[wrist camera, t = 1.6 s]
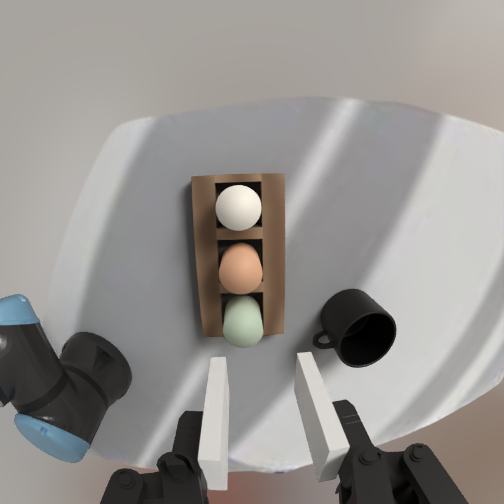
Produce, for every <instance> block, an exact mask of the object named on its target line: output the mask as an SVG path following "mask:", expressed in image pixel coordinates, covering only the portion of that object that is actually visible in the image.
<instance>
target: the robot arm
mask: <svg viewBox="0 0 504 504" xmlns="http://www.w3.org/2000/svg"><path fill="white" fill-rule="evenodd" d="M131 381H132V374H131V370H130V367H129V364H128V362H127V361H126V359H125V357H124V356H123V355H122V354H121V352H120V351H119V350H118V349H117V348H116V347H115V346H114V345H113V344H111V343H110V342H109V341H107V340H106V339H104V338H102V337H100V336H98V335H96V334H93V333H88V332H79V333H76V334H74V335H73V336H71V337H70V338H69V339H68V341H67V342H66V343H65V344H64V346H63V349H62V354H61V356H60V358H59V359H58V357H57V355H56V354H55V352H54V350H53V348H52V346H51V344H50V343H49V341H48V339H47V337H46V335H45V333H44V331H43V328H42V326H41V324H40V320H39V319H38V318H37V316H36V314H35V312H34V310H33V308H32V306H31V304H30V302H29V300H28V299H27V298H26V297H25V296H23V295H21V294H16V295H12V296H8V297H5V298H1V299H0V407H4V406H5V405H6V404H7V403H9V402H11V403H12V404H13V406H14V407H15V409H16V410H17V411H18V414H16V415H15V419H14V422H15V425H16V427H17V428H18V430H19V431H20V432H21V434H22V435H23V436H24V437H25V438H26V439H28V440H29V441H30V442H31V443H32V444H34V445H35V446H36V447H38V448H39V449H40V450H42V451H44V452H45V453H47V454H49V455H51V456H53V457H55V458H57V459H59V460H62V461H65V462H70V463H76V462H79V461H81V460H82V459H83V457H84V455H85V453H86V452H87V450H88V449H89V448H90V445H91V443H92V441H93V439H94V436H95V434H96V432H97V430H98V428H99V426H100V423H101V421H102V419H103V417H104V415H105V413H106V411H107V409H108V407H109V406H111V405H112V404H113V403H114V402H115V401H116V400H117V399H119V398H121V397H122V396H124V395H125V393H126V392H127V390H128V388H129V386H130V384H131ZM294 392H295V395H296V399H297V403H298V407H299V410H300V414H301V418H302V422H303V426H304V429H305V433H306V437H307V441H308V445H309V449H310V452H311V456H312V460H313V464H314V467H315V472H316V475H317V479H318V482H323V481H328V480H333V479H336V477H337V475H338V474H339V478H340V483H339V485H338V487H337V489H336V492H335V494H337V493H338V492H339V503H340V504H468V502H467V501H466V499H465V498H464V496H463V495H462V494H461V492H460V490H459V489H458V487H457V486H456V484H455V483H454V482H453V480H452V479H451V477H450V476H449V475H448V473H447V472H446V470H445V469H444V467H443V466H442V465H441V463H440V462H439V460H438V459H437V457H436V456H435V455H434V453H433V452H432V450H431V449H430V448H429V447H428V446H427V445H424V444H419V443H416V444H412V445H410V446H409V447H407V448H406V450H405V451H402V452H384V451H381V450H380V449H379V448H377V447H375V446H374V445H373V444H372V442H371V440H370V438H369V436H368V434H367V432H366V430H365V428H364V426H363V424H362V421H361V419H360V417H359V415H358V413H357V411H356V409H355V407H354V405H352V404H351V403H350V402H349V401H348V400H341V401H335V402H332V401H331V399H330V396H329V394H328V392H327V389H326V387H325V384H324V382H323V380H322V377H321V375H320V372H319V370H318V368H317V365H316V363H315V360H314V358H313V356H312V353H311V352H304V353H297V360H296V373H295V385H294ZM228 421H229V386H228V376H227V366H226V357H211V362H210V369H209V376H208V383H207V390H206V398H205V405H204V412H202V411H185V412H184V413H183V414H182V415H181V417H180V418H179V421H178V426H177V430H176V436H175V440H174V444H173V449H172V452H167V453H166V454H164V455H162V456H161V457H160V458H159V459H158V461H157V467H158V469H159V472H154V473H145V474H139V473H138V472H137V471H134V470H132V469H126V468H124V469H119V470H117V471H116V472H114V473H113V475H112V476H111V478H110V480H109V483H108V485H107V487H106V490H105V492H104V495H103V497H102V500H101V502H100V504H209V500H208V497H207V487H208V489H210V490H227V467H228Z"/></svg>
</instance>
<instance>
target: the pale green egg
mask: <svg viewBox="0 0 504 504" xmlns="http://www.w3.org/2000/svg"><path fill="white" fill-rule="evenodd" d="M223 334H224V337H225V339H226V340H227V341H228V342H229V343H230V344H231V345H233V346H236V347H241V348H245V347H250V346H253V345H255V344H256V343H257V342H258V341H259V340H260V339H261V337H262V335H263V325H262V319H261V313H260V307H259V304H258V303H257V301H256V300H255V299H254V298H252V297H250V296H248V295H237V296H235V297H233V298H231V299H230V300H229V301H228V302H227V304H226V307H225V315H224V325H223Z"/></svg>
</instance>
